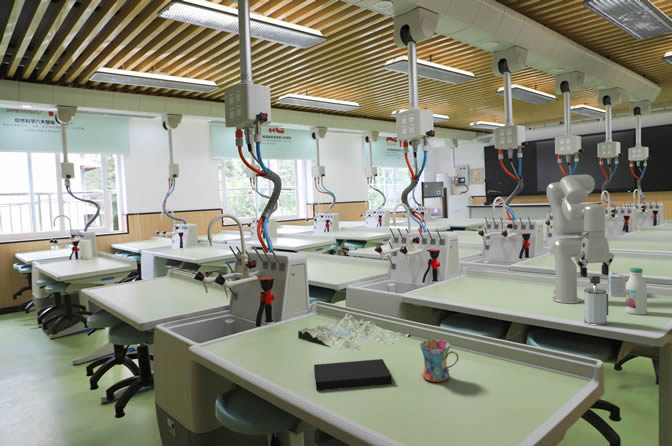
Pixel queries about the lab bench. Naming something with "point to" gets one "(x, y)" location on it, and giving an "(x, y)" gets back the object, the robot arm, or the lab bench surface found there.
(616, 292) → the light bulb box
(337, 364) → the external hard drive
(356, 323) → the topographic map model
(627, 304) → the milk bottle
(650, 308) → the lab bench surface
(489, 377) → the lab bench surface
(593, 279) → the plunger
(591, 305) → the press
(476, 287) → the lab bench surface
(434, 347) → the mug
